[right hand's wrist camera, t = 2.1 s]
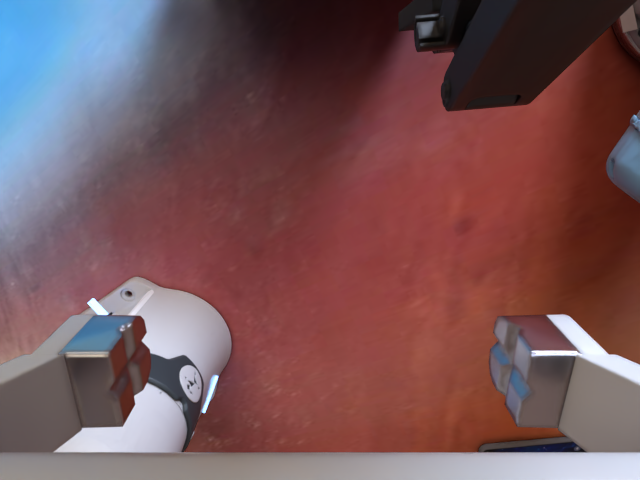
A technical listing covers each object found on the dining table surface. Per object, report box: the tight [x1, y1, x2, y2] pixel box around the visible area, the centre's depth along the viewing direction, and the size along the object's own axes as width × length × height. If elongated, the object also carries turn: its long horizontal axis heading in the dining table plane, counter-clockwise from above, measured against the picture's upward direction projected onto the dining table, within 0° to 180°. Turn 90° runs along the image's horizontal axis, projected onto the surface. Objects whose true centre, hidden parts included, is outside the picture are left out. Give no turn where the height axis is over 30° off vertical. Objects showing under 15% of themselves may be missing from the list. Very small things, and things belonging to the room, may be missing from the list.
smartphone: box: [479, 437, 586, 452], centre depth 61 cm, size 7×1×15 cm
